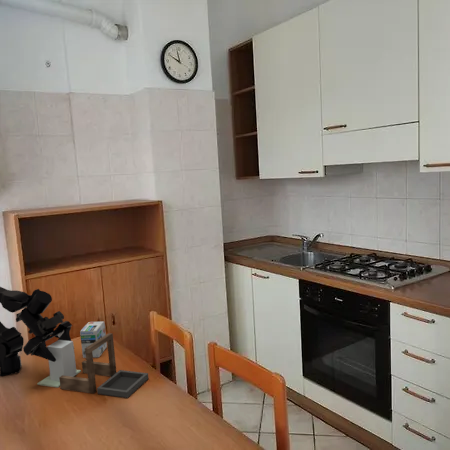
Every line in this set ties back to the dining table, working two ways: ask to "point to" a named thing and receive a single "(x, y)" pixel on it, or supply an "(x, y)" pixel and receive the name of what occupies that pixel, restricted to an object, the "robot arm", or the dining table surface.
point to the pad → (52, 383)
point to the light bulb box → (93, 337)
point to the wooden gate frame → (92, 368)
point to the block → (62, 359)
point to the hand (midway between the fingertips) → (64, 355)
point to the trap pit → (123, 384)
